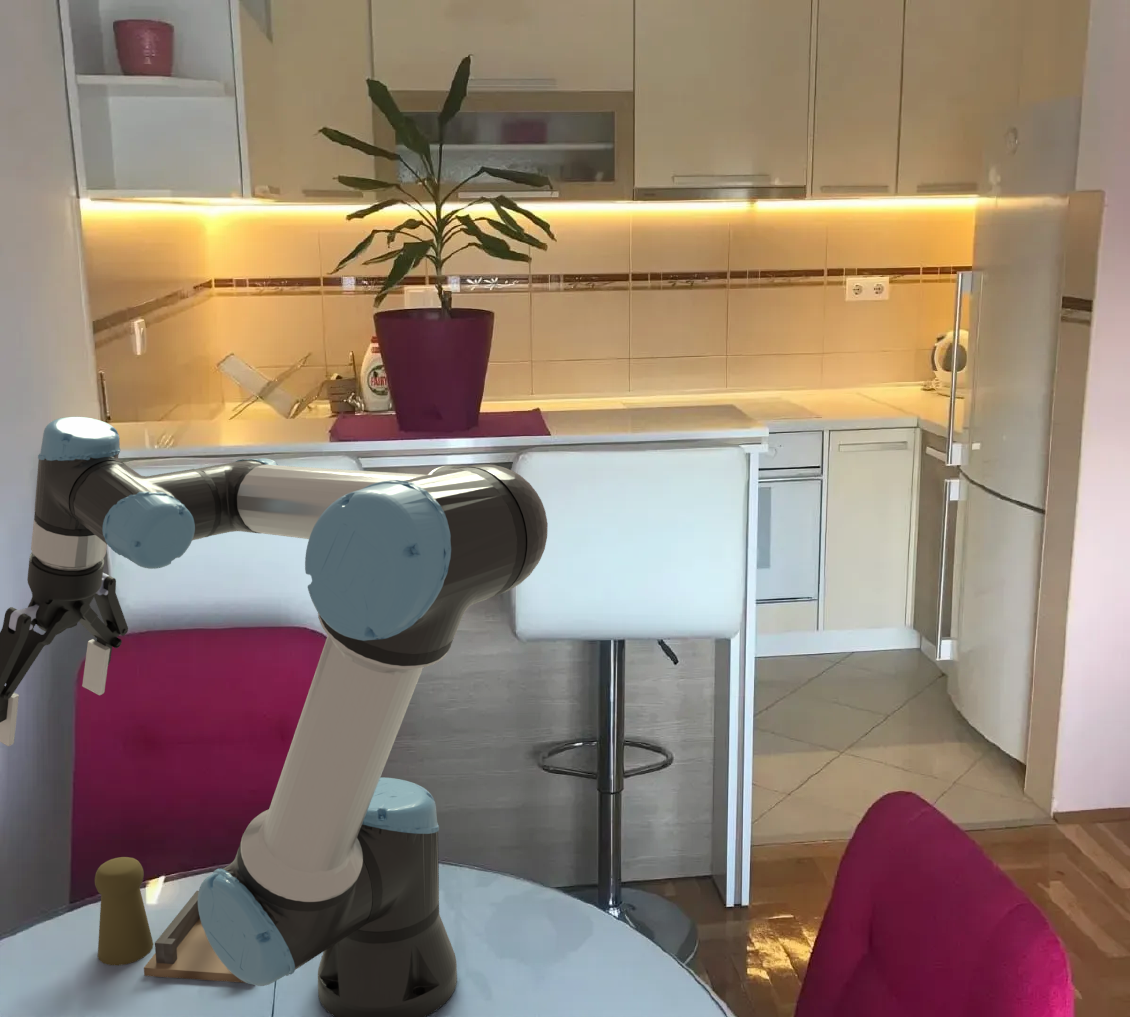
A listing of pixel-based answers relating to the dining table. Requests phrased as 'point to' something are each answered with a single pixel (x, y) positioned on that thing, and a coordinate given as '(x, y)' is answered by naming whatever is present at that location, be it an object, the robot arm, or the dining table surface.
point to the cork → (122, 912)
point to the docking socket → (187, 950)
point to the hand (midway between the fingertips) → (49, 713)
